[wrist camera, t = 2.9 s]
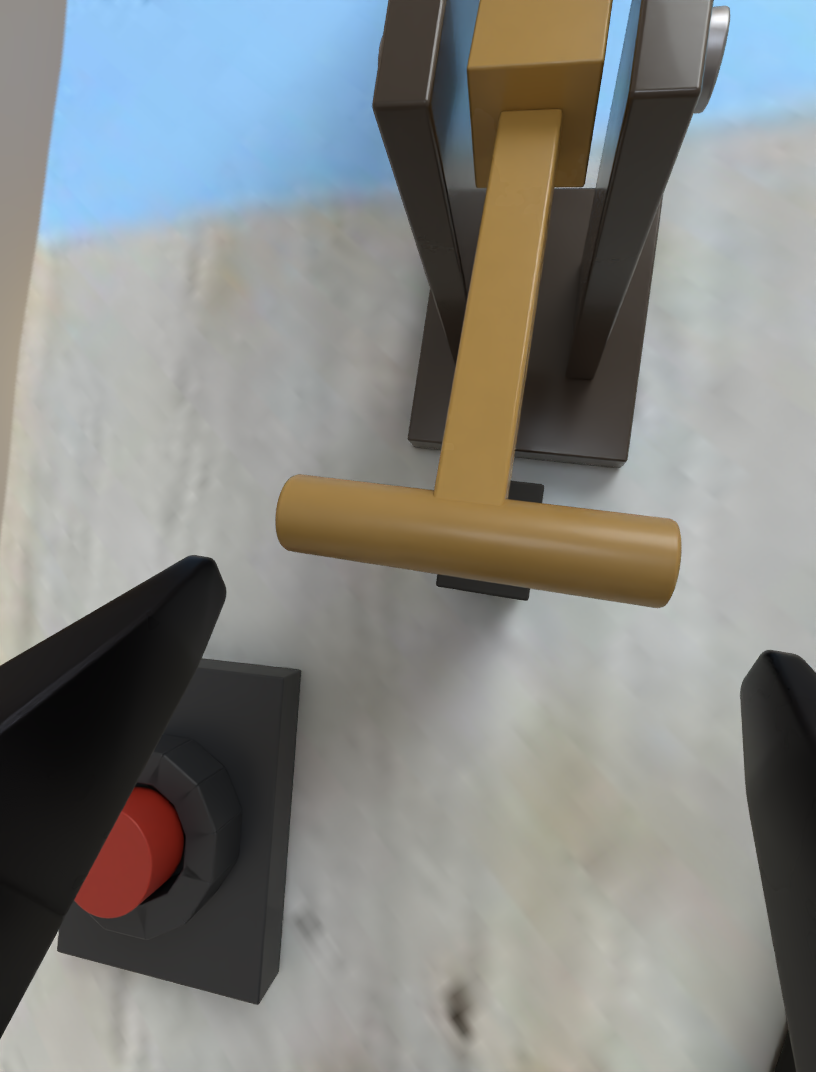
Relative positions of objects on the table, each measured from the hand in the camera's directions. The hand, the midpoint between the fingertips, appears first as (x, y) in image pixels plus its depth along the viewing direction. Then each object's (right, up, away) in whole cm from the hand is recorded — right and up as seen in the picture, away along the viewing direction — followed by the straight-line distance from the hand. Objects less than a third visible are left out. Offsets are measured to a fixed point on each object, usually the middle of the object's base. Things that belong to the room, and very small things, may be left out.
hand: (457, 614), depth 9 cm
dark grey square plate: (-10, -10, +14) cm, 20 cm away
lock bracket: (+4, +9, +12) cm, 16 cm away
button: (-11, -10, +11) cm, 18 cm away
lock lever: (+1, +6, +2) cm, 6 cm away
